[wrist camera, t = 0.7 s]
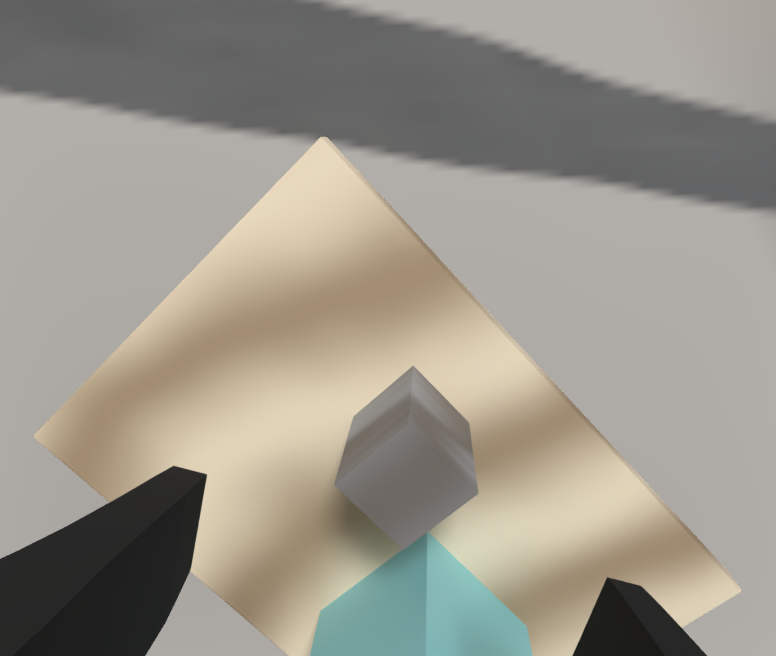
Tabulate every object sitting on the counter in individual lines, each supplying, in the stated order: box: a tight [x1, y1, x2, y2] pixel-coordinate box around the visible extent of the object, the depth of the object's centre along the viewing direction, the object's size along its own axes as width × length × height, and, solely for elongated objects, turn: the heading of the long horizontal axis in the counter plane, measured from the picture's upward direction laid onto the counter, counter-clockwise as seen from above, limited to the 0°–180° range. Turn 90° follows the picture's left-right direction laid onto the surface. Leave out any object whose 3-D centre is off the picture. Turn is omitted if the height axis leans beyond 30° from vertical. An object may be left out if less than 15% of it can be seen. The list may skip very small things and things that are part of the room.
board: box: [33, 137, 741, 656], centre depth 19 cm, size 20×14×5 cm
